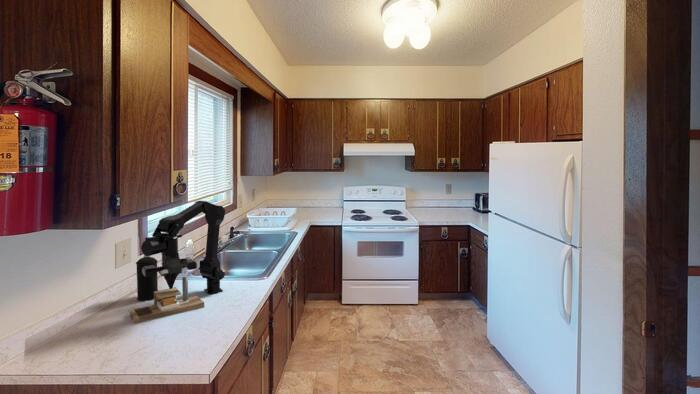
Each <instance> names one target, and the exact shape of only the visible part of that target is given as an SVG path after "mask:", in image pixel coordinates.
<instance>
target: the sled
mask: <svg viewBox="0 0 700 394" xmlns="http://www.w3.org/2000/svg"><path fill="white" fill-rule="evenodd" d="M188 279H189V277H188V276H182V278H181V280H182V283H181V284H182V298H183V300H179V301H177V300H178V299H177V298H176V299H175V304H172V305H167V306H163V307H162V305H161V301H159V302H157V306H158V307H159V309H160V310H161V311H163V310H168V309H172V308H176V307H180V304H185V303H189V300H188V297H189V290H188V289H189V280H188Z"/></svg>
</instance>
